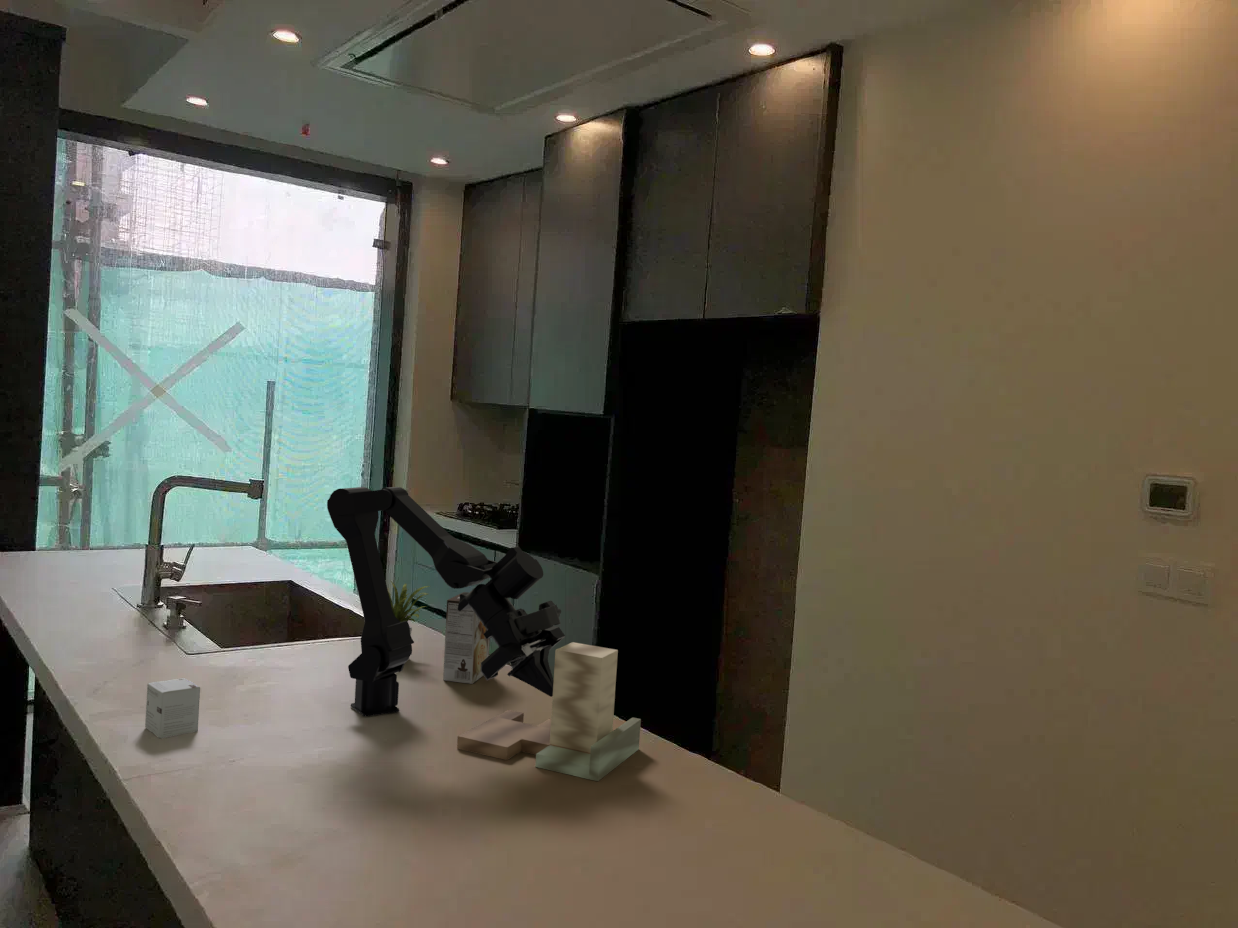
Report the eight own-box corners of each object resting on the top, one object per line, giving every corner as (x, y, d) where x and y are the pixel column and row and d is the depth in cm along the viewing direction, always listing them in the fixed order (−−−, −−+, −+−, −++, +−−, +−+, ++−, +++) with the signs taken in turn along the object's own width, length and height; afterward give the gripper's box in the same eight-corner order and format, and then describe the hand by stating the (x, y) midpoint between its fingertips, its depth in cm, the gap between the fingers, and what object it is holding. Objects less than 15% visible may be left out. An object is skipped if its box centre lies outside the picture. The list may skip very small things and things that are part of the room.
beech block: (549, 743, 153) (555, 649, 152) (566, 733, 159) (572, 642, 158) (595, 754, 150) (602, 657, 149) (611, 742, 155) (617, 649, 154)
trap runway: (457, 748, 154) (458, 717, 154) (507, 721, 169) (509, 692, 168) (597, 781, 144) (600, 748, 144) (638, 749, 159) (640, 719, 159)
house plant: (446, 654, 209) (450, 579, 208) (412, 670, 196) (416, 589, 195) (388, 645, 214) (392, 571, 213) (351, 659, 201) (355, 581, 200)
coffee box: (458, 668, 199) (463, 590, 198) (488, 672, 198) (493, 594, 197) (441, 680, 190) (446, 599, 189) (473, 684, 189) (477, 602, 188)
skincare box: (144, 728, 154) (146, 682, 153) (183, 721, 158) (184, 676, 158) (159, 739, 150) (161, 692, 149) (199, 731, 154) (201, 685, 154)
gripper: (502, 595, 148) (562, 679, 145) (558, 578, 166) (613, 653, 162) (455, 638, 152) (512, 721, 148) (514, 617, 169) (567, 691, 165)
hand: (554, 694), depth 156 cm, fingers closed
